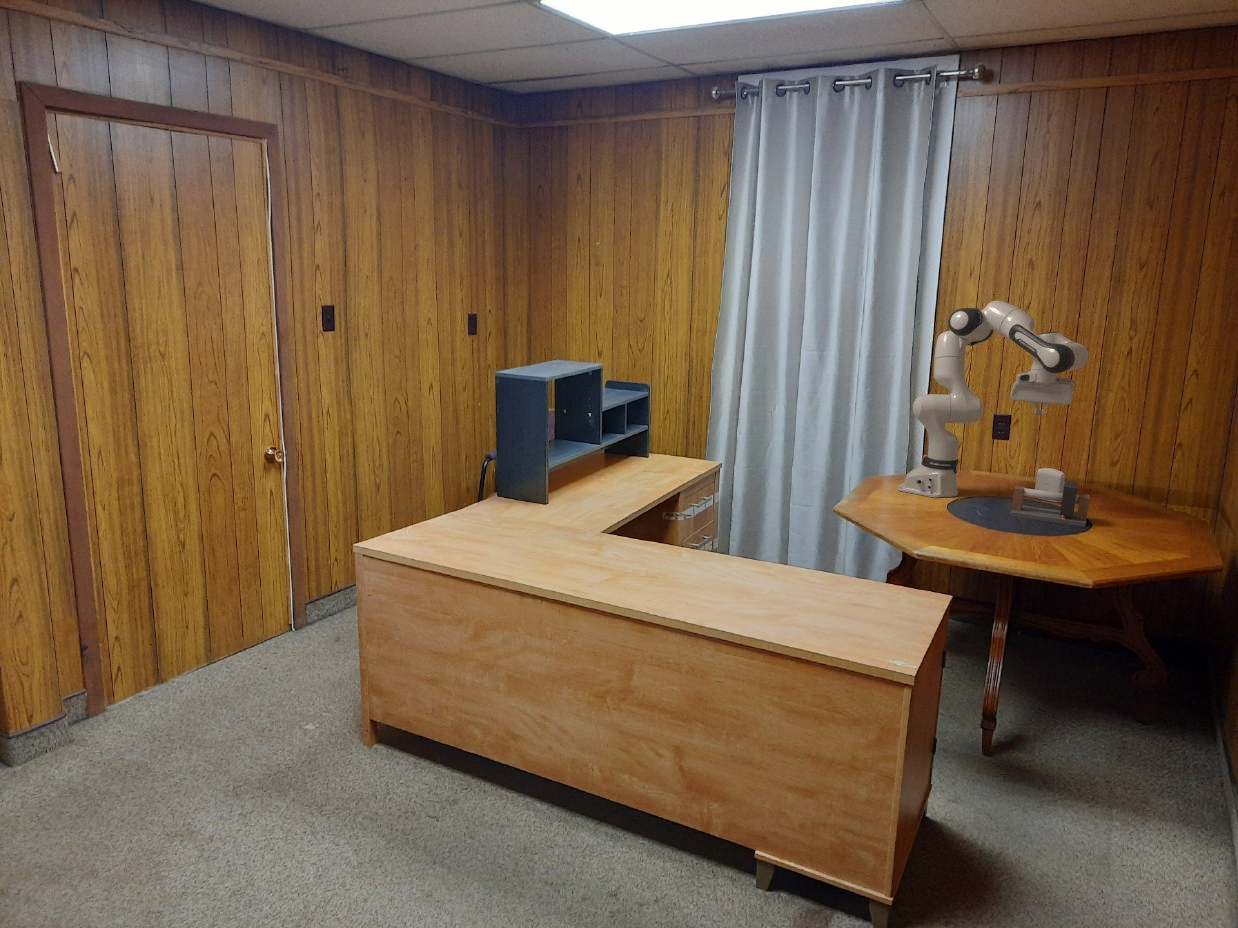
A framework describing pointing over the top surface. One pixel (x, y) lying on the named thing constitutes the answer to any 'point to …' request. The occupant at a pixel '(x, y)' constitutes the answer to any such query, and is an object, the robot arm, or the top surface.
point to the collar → (1069, 498)
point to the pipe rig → (1048, 514)
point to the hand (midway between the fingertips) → (1038, 414)
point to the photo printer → (1050, 481)
